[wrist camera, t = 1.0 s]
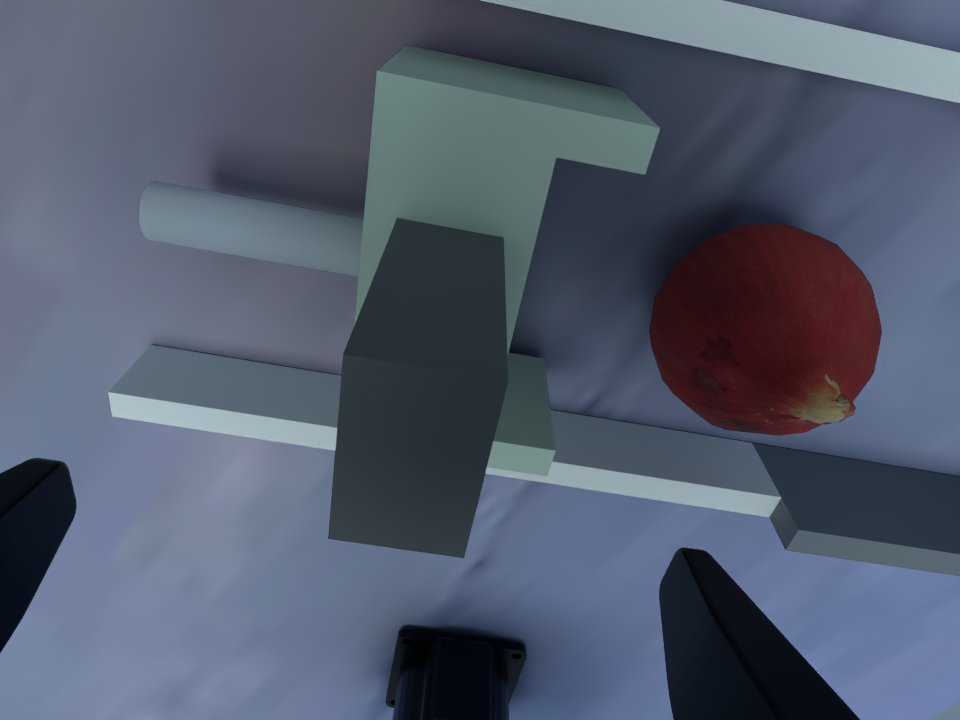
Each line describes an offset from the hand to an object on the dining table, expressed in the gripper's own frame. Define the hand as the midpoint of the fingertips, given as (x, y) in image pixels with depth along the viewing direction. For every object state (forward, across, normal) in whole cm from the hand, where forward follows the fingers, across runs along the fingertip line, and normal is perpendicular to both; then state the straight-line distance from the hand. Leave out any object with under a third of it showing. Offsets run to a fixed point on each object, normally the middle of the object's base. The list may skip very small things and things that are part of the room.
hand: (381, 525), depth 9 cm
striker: (+13, +2, 0) cm, 13 cm away
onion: (+13, -9, 0) cm, 16 cm away
